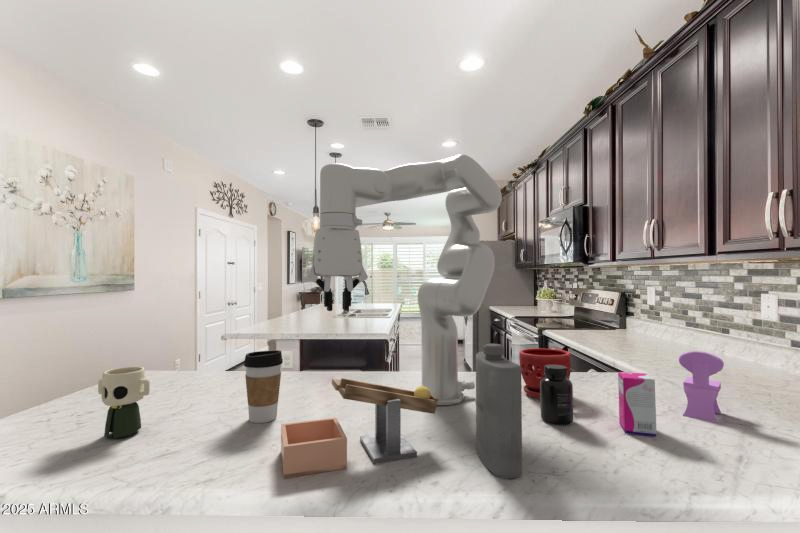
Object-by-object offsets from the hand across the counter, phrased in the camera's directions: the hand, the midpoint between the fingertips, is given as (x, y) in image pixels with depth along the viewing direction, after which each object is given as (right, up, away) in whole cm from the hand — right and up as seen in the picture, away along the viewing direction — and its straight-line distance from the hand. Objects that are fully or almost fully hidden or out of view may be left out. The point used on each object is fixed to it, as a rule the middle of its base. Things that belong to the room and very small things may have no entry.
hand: (337, 309), depth 83 cm
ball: (+18, -16, -7) cm, 25 cm away
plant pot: (+52, -26, +23) cm, 63 cm away
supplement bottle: (+48, -25, +5) cm, 55 cm away
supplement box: (+63, -25, -1) cm, 68 cm away
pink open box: (-2, -25, -14) cm, 29 cm away
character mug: (-43, -25, -3) cm, 50 cm away
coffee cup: (-18, -26, +6) cm, 32 cm away
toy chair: (+84, -26, +9) cm, 88 cm away
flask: (+30, -25, -13) cm, 41 cm away
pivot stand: (+11, -25, -10) cm, 29 cm away
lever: (+10, -17, -7) cm, 20 cm away
